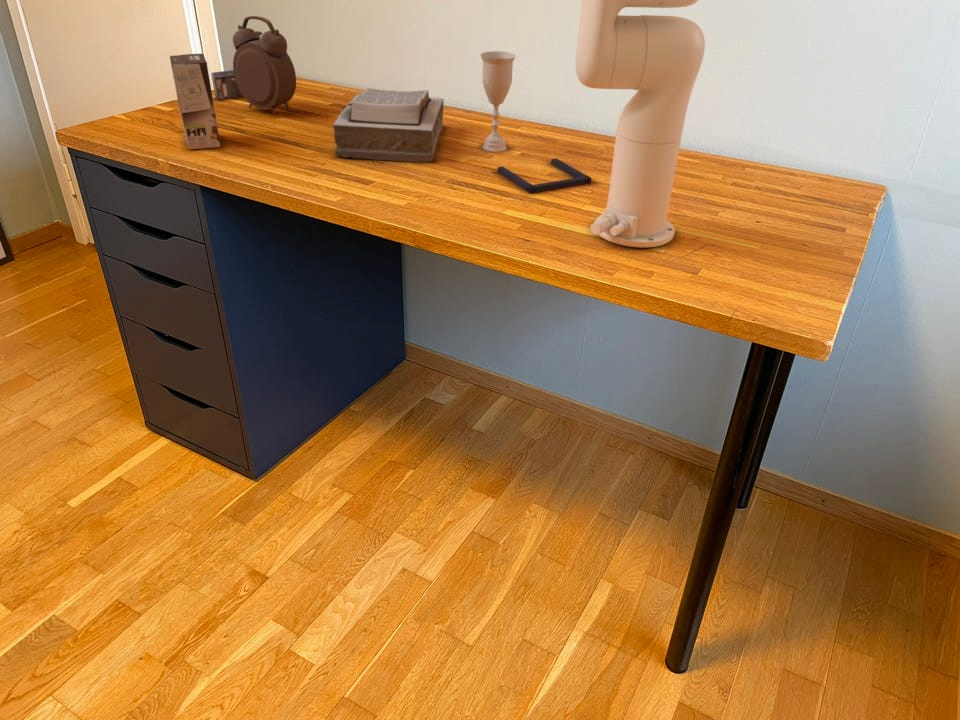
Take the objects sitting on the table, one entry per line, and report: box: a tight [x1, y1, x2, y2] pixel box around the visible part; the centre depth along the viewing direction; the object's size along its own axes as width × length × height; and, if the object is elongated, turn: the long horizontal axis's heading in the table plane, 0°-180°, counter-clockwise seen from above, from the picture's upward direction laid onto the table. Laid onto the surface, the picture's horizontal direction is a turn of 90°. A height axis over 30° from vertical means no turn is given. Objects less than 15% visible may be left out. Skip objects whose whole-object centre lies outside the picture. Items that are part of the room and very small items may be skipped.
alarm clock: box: [232, 15, 297, 115], centre depth 164 cm, size 15×7×20 cm, turn 58°
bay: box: [497, 158, 592, 194], centre depth 137 cm, size 12×13×1 cm
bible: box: [332, 87, 445, 163], centre depth 150 cm, size 23×27×10 cm
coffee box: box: [169, 53, 221, 150], centre depth 145 cm, size 9×6×16 cm
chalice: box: [480, 50, 517, 153], centre depth 146 cm, size 7×7×18 cm
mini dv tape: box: [211, 69, 244, 101], centre depth 177 cm, size 8×2×6 cm, turn 130°
